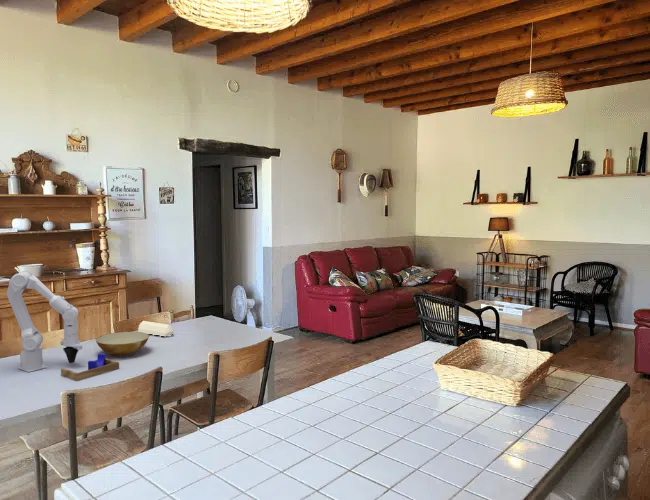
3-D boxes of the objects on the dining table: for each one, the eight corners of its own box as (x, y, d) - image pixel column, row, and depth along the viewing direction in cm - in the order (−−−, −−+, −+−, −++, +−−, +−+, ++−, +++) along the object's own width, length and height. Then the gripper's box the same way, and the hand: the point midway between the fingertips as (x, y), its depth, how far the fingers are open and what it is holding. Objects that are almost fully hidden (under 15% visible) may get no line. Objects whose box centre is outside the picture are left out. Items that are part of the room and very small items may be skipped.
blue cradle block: (95, 366, 224) (95, 353, 224) (105, 366, 225) (105, 353, 224) (84, 375, 212) (84, 361, 212) (95, 375, 213) (94, 361, 212)
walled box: (61, 375, 211) (60, 368, 211) (103, 363, 228) (103, 357, 227) (76, 381, 204) (76, 374, 204) (119, 368, 221) (119, 362, 221)
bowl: (160, 350, 252) (160, 335, 251) (121, 363, 229) (121, 347, 228) (124, 343, 262) (124, 329, 261) (84, 356, 239) (83, 340, 239)
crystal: (178, 328, 283) (147, 323, 293) (170, 324, 277) (139, 320, 287) (174, 340, 280) (143, 335, 290) (166, 337, 274) (134, 332, 284)
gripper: (88, 334, 222) (88, 363, 223) (70, 329, 230) (71, 357, 231) (73, 337, 216) (74, 367, 218) (55, 332, 224) (56, 361, 225)
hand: (71, 362), depth 224 cm, fingers closed
